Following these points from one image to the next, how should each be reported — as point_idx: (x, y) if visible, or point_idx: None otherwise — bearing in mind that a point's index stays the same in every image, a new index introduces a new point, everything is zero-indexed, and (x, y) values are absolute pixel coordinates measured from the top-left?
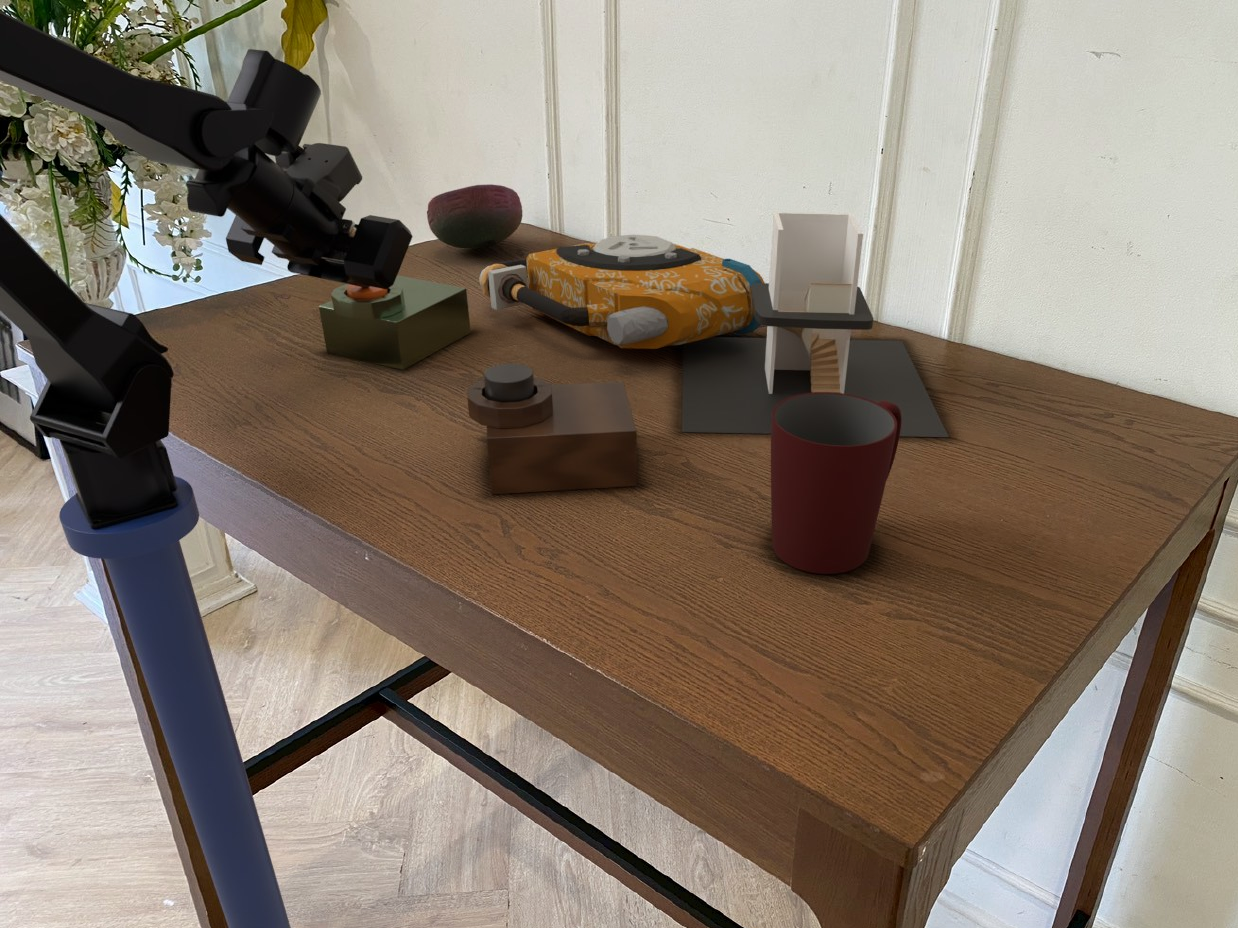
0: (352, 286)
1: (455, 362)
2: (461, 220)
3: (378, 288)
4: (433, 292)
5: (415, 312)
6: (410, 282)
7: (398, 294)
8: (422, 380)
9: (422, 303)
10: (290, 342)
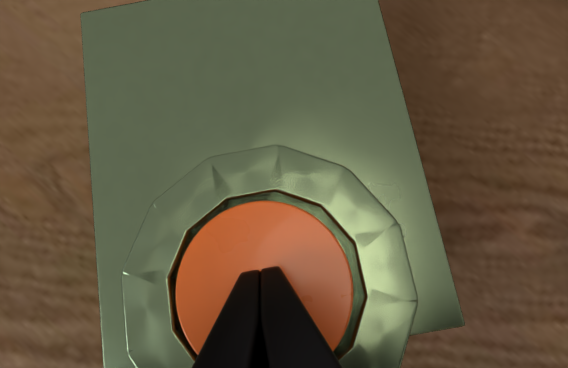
0: (210, 328)
1: (465, 188)
2: None
3: (327, 274)
4: (318, 45)
5: (433, 213)
6: (185, 28)
7: (401, 233)
8: (499, 319)
9: (378, 137)
10: (38, 356)
